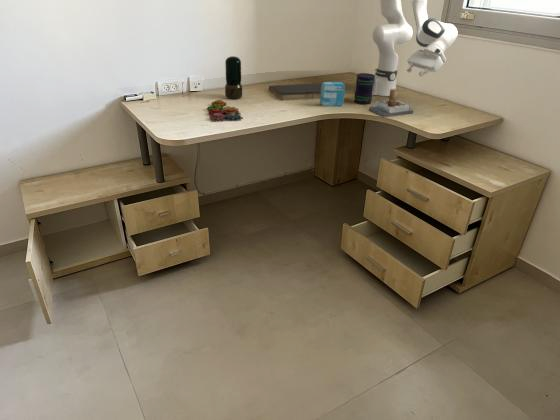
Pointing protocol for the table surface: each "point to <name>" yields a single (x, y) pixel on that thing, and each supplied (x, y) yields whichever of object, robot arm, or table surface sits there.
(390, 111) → the carrier plate
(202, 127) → the table surface
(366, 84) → the storage jar
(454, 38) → the robot arm
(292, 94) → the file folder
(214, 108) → the gear puzzle
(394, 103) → the tan upright cylinder
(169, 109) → the table surface
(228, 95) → the dark green cactus pot
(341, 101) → the data package
